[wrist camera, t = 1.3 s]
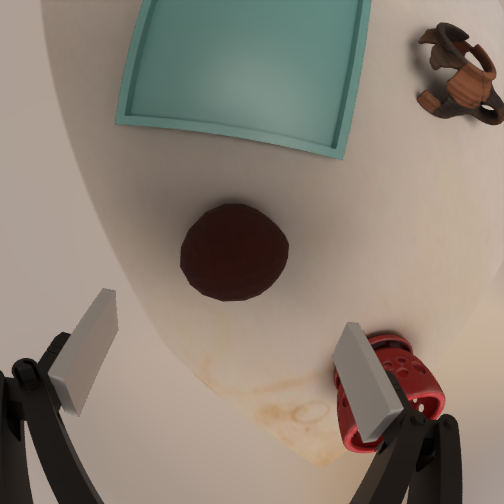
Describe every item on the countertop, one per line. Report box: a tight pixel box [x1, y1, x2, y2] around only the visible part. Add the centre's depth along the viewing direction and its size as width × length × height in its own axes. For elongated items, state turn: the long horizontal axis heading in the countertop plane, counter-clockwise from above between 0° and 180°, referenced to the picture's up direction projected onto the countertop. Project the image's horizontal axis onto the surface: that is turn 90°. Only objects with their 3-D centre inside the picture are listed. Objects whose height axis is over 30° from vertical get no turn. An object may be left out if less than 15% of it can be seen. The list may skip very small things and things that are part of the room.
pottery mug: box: [417, 23, 504, 125], centre depth 19 cm, size 12×9×8 cm
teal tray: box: [115, 0, 371, 160], centre depth 19 cm, size 20×20×2 cm
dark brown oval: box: [180, 204, 289, 301], centre depth 24 cm, size 8×9×8 cm
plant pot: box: [334, 335, 445, 453], centre depth 31 cm, size 13×13×12 cm
